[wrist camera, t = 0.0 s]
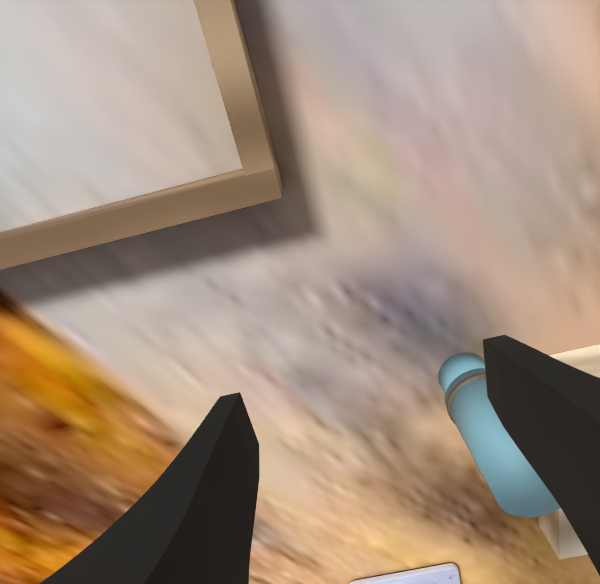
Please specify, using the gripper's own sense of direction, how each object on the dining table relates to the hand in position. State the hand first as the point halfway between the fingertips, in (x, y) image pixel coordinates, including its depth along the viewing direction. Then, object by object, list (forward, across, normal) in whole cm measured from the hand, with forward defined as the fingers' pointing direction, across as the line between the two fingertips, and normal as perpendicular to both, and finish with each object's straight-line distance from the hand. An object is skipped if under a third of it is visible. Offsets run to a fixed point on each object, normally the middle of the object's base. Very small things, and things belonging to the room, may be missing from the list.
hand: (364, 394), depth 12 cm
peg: (+10, -6, +8) cm, 14 cm away
